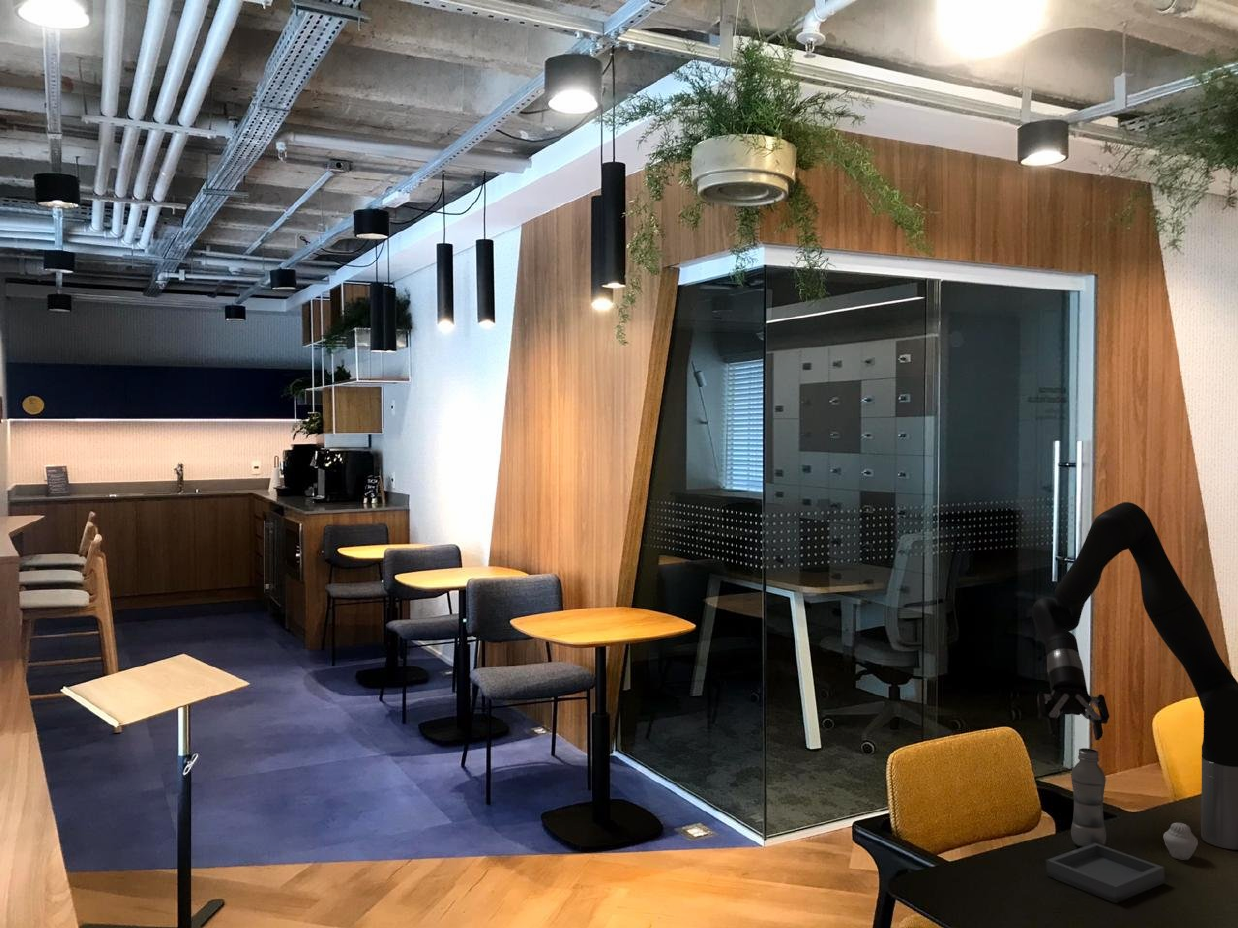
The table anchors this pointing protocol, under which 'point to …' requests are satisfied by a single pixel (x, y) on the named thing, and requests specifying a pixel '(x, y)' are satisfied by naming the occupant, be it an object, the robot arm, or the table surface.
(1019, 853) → the table surface
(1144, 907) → the table surface
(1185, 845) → the muffin
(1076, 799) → the plastic bottle
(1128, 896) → the tray
